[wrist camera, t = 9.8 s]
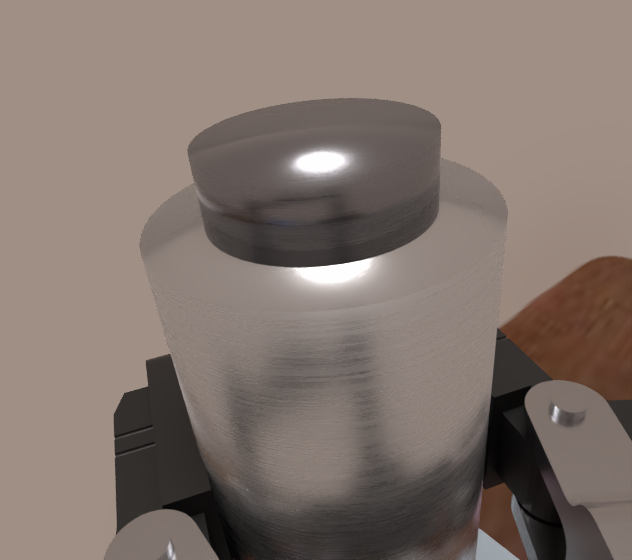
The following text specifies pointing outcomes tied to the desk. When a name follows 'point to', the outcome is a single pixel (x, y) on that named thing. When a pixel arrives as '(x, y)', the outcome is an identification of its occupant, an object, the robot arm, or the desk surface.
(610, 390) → the desk surface
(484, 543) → the grey square platform
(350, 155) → the steel canister
